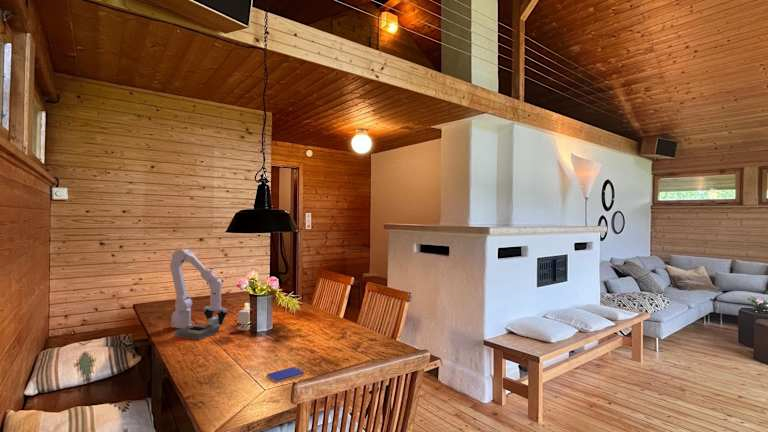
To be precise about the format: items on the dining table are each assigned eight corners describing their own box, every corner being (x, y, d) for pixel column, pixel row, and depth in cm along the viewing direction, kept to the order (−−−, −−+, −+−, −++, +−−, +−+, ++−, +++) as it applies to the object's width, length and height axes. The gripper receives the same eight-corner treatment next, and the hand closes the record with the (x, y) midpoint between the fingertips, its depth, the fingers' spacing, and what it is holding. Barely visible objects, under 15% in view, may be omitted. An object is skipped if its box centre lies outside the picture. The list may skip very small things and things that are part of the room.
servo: (210, 329, 220) (211, 318, 220) (205, 328, 221) (205, 318, 221) (224, 324, 230) (224, 314, 230) (219, 323, 231) (219, 313, 231)
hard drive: (294, 366, 166) (266, 373, 158) (304, 372, 160) (275, 380, 152) (294, 369, 166) (266, 377, 158) (304, 375, 160) (275, 384, 152)
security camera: (252, 327, 226) (253, 309, 226) (247, 330, 219) (247, 312, 219) (242, 326, 227) (242, 309, 227) (236, 329, 220) (236, 312, 220)
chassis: (174, 336, 206) (175, 330, 206) (195, 329, 219) (195, 323, 219) (199, 339, 201) (199, 334, 201) (218, 332, 214) (218, 326, 214)
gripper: (200, 300, 224) (199, 324, 224) (221, 302, 220) (220, 326, 220) (209, 298, 231) (208, 321, 231) (229, 300, 226) (229, 323, 226)
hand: (215, 323), depth 226 cm, fingers open, 7 cm apart
